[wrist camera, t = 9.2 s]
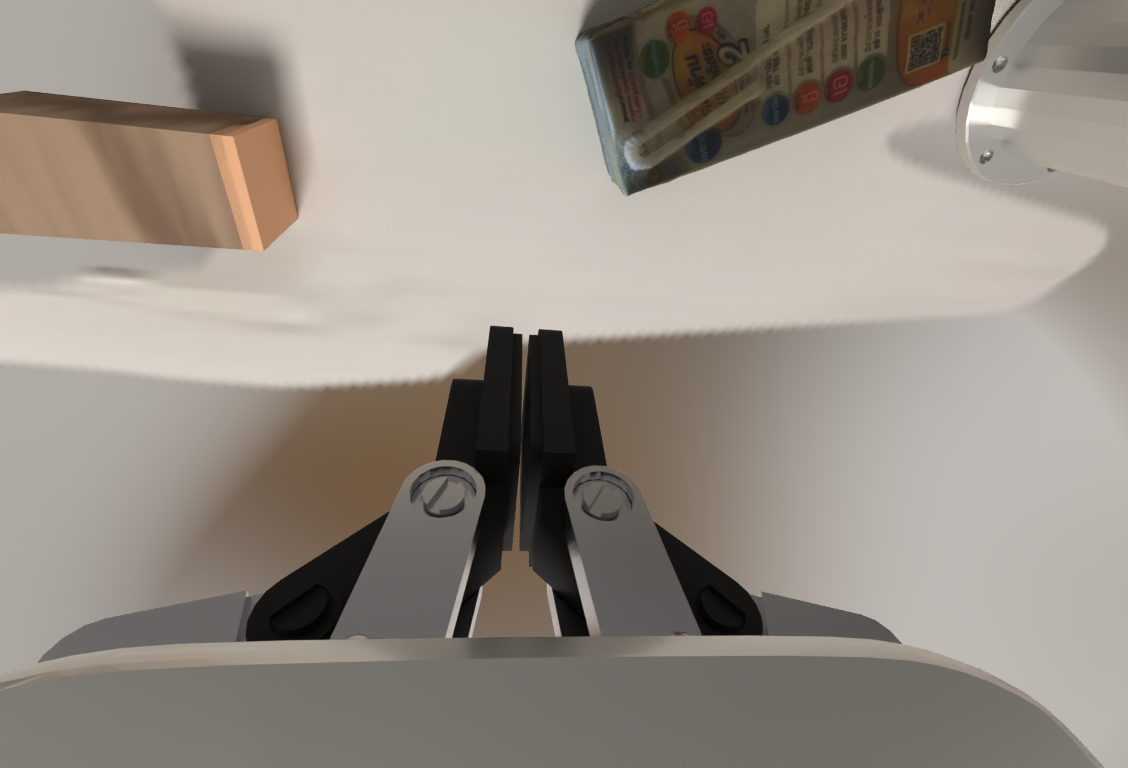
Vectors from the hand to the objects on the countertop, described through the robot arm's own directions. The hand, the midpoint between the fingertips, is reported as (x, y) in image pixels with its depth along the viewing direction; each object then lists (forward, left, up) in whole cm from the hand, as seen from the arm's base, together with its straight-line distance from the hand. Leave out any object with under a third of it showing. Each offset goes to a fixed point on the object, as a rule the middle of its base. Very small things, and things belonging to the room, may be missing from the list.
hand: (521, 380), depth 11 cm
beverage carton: (-13, -8, -23) cm, 27 cm away
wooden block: (+13, +1, -20) cm, 23 cm away
